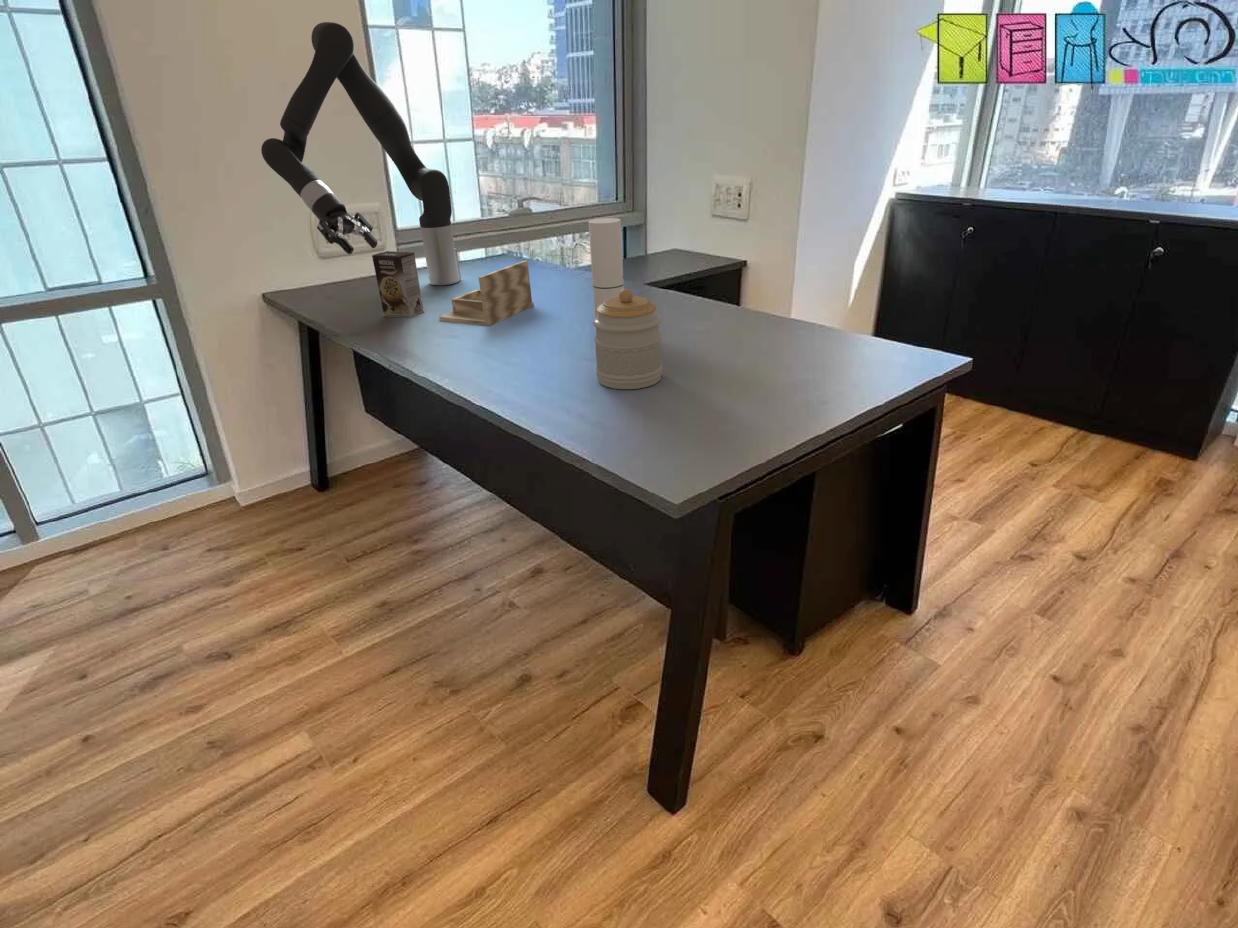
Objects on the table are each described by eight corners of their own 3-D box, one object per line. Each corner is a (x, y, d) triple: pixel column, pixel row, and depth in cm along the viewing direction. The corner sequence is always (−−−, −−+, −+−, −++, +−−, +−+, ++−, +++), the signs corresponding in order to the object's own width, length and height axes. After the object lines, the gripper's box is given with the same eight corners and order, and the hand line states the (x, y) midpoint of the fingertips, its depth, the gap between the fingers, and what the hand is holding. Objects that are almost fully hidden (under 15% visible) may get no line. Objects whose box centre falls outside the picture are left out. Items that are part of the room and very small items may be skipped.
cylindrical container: (627, 325, 174) (622, 217, 163) (624, 334, 168) (618, 222, 157) (597, 326, 175) (590, 218, 164) (593, 335, 169) (586, 224, 157)
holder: (486, 301, 203) (480, 258, 197) (533, 305, 196) (529, 260, 190) (439, 320, 187) (432, 273, 182) (489, 325, 180) (483, 277, 175)
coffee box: (382, 316, 194) (370, 255, 186) (397, 310, 199) (386, 250, 191) (410, 318, 190) (399, 256, 183) (425, 312, 196) (414, 251, 188)
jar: (672, 384, 137) (670, 292, 129) (607, 395, 134) (601, 301, 126) (650, 364, 149) (647, 278, 141) (589, 373, 146) (583, 285, 138)
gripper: (306, 195, 183) (348, 244, 183) (348, 188, 194) (388, 234, 194) (296, 217, 188) (338, 264, 188) (338, 209, 199) (377, 253, 199)
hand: (363, 249), depth 191 cm, fingers open, 8 cm apart
